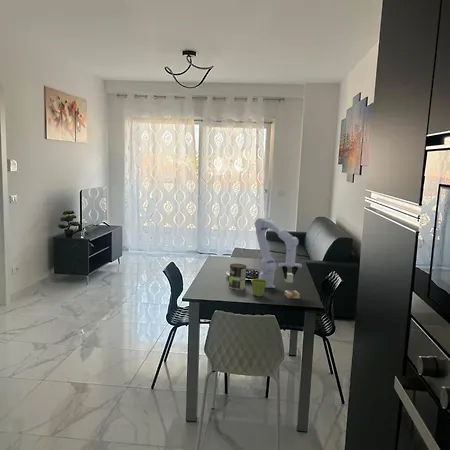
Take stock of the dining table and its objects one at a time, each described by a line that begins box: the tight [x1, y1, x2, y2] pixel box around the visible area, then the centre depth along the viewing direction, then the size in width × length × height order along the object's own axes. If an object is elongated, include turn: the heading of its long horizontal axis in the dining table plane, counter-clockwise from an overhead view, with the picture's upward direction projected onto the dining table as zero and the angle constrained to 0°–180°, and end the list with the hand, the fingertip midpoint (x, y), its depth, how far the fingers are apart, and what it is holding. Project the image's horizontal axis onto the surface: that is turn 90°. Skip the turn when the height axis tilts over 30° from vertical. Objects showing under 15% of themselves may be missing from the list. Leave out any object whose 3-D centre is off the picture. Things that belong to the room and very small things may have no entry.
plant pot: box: [250, 278, 267, 297], centre depth 254 cm, size 9×9×9 cm
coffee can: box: [228, 263, 247, 291], centre depth 267 cm, size 10×10×14 cm
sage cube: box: [284, 272, 294, 283], centre depth 262 cm, size 4×4×5 cm
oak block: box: [284, 290, 301, 299], centre depth 256 cm, size 7×7×3 cm
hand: (288, 278), depth 262 cm, fingers closed on sage cube, 4 cm apart
